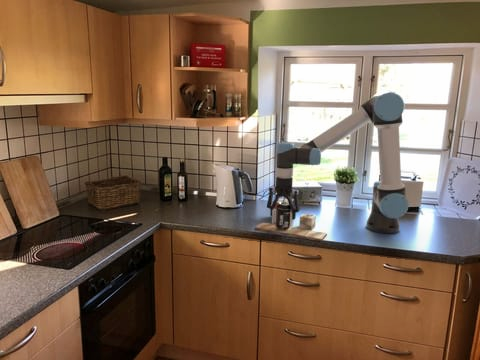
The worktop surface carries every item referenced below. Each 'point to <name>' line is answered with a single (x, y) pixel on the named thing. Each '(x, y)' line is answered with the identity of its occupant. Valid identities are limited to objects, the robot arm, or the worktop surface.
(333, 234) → the worktop surface
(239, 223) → the worktop surface
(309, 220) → the die
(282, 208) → the beverage can
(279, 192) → the robot arm
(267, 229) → the board
